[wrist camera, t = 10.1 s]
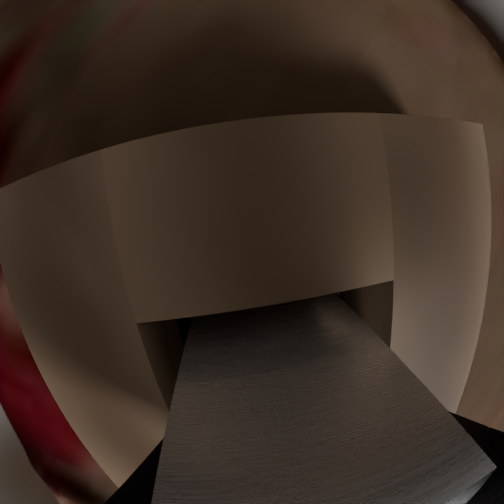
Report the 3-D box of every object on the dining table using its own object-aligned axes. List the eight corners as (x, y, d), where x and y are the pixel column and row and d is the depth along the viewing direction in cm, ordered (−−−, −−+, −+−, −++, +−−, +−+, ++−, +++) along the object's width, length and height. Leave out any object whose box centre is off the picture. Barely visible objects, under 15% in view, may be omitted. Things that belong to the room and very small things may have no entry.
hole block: (151, 462, 13) (141, 511, 9) (51, 189, 10) (-11, 193, 6) (406, 416, 14) (435, 457, 10) (419, 136, 10) (482, 124, 6)
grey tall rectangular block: (221, 391, 13) (226, 595, 3) (197, 296, 11) (143, 559, 2) (324, 373, 13) (413, 551, 3) (319, 276, 12) (497, 466, 2)
